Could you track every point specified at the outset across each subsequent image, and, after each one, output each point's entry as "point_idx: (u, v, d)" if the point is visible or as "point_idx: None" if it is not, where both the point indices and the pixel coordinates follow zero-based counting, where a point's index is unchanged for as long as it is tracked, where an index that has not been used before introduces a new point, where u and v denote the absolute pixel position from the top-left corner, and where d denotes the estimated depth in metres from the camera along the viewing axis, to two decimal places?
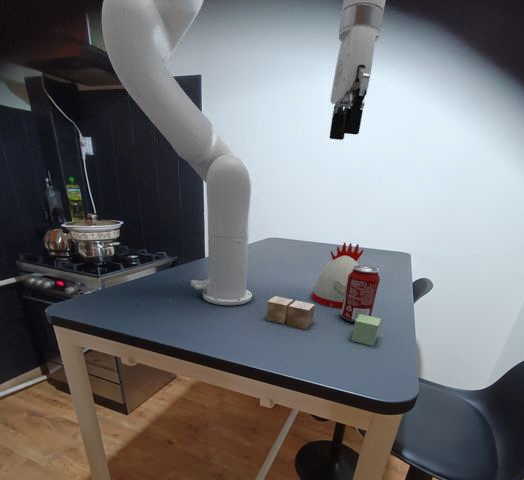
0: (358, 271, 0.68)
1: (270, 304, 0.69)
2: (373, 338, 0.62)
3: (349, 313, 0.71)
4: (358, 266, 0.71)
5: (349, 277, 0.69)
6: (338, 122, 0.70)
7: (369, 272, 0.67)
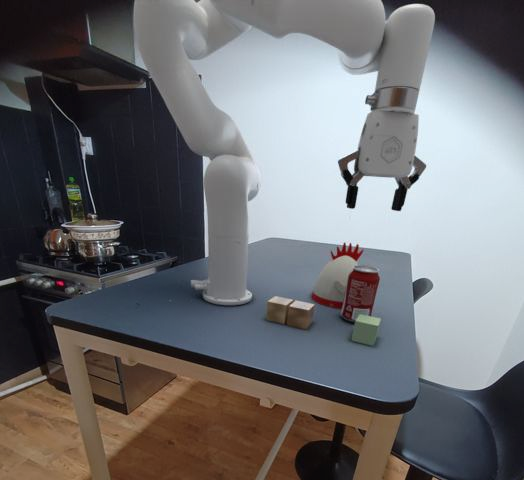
0: (358, 271, 0.68)
1: (270, 304, 0.69)
2: (373, 338, 0.62)
3: (349, 313, 0.71)
4: (358, 266, 0.71)
5: (349, 277, 0.69)
6: None
7: (369, 272, 0.67)
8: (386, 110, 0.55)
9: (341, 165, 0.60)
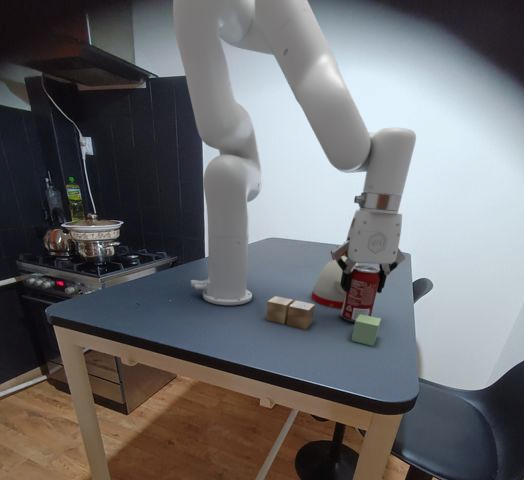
0: (358, 271, 0.68)
1: (270, 304, 0.69)
2: (373, 338, 0.62)
3: (349, 313, 0.71)
4: (358, 266, 0.71)
5: None
6: None
7: (369, 272, 0.67)
8: (372, 211, 0.61)
9: (335, 257, 0.67)
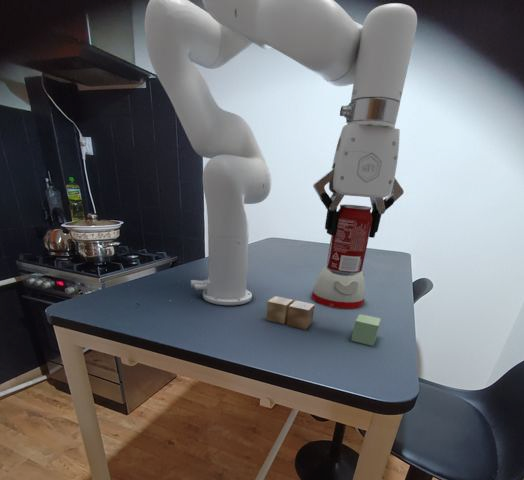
0: (346, 208, 0.55)
1: (270, 304, 0.69)
2: (373, 338, 0.62)
3: (336, 262, 0.59)
4: (347, 205, 0.59)
5: None
6: None
7: (359, 208, 0.54)
8: (362, 123, 0.48)
9: (317, 190, 0.54)
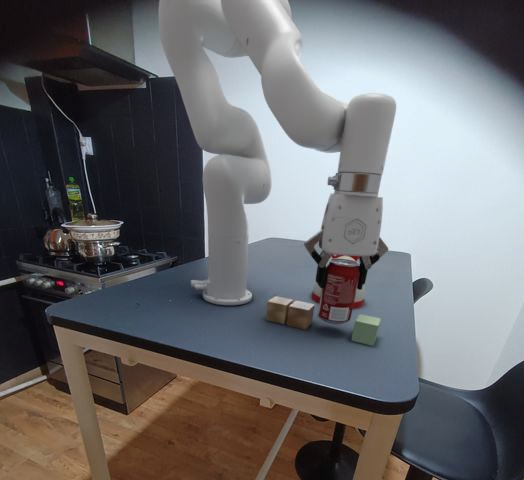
0: (334, 264, 0.59)
1: (270, 304, 0.69)
2: (373, 338, 0.62)
3: (326, 312, 0.63)
4: (336, 259, 0.63)
5: None
6: None
7: (347, 265, 0.58)
8: (348, 194, 0.52)
9: (308, 249, 0.58)
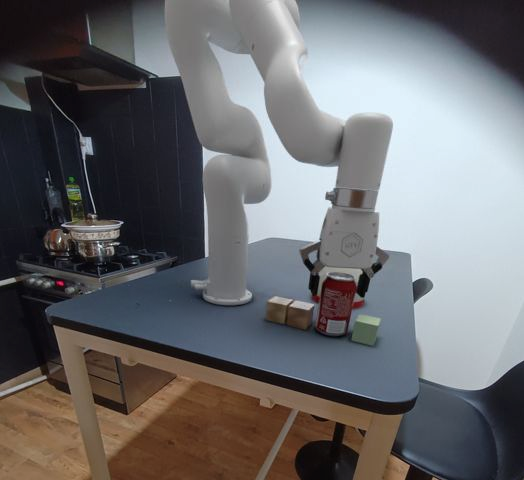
0: (332, 279, 0.60)
1: (270, 304, 0.69)
2: (373, 338, 0.62)
3: (324, 325, 0.64)
4: (333, 273, 0.64)
5: (323, 285, 0.62)
6: None
7: (344, 280, 0.59)
8: (345, 209, 0.54)
9: (302, 255, 0.59)
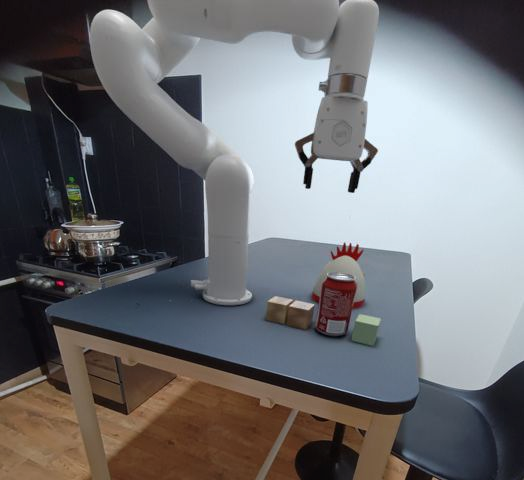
0: (332, 279, 0.60)
1: (270, 304, 0.69)
2: (373, 338, 0.62)
3: (324, 325, 0.64)
4: (333, 273, 0.64)
5: (323, 285, 0.62)
6: None
7: (344, 280, 0.59)
8: (335, 96, 0.59)
9: (297, 147, 0.65)
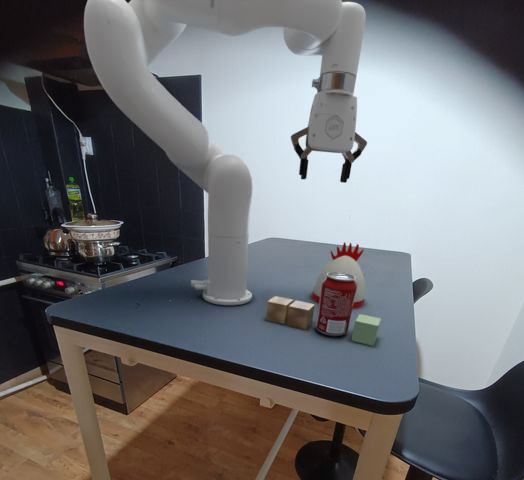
0: (332, 279, 0.60)
1: (270, 304, 0.69)
2: (373, 338, 0.62)
3: (324, 325, 0.64)
4: (333, 273, 0.64)
5: (323, 285, 0.62)
6: None
7: (344, 280, 0.59)
8: (328, 92, 0.64)
9: (293, 140, 0.70)
